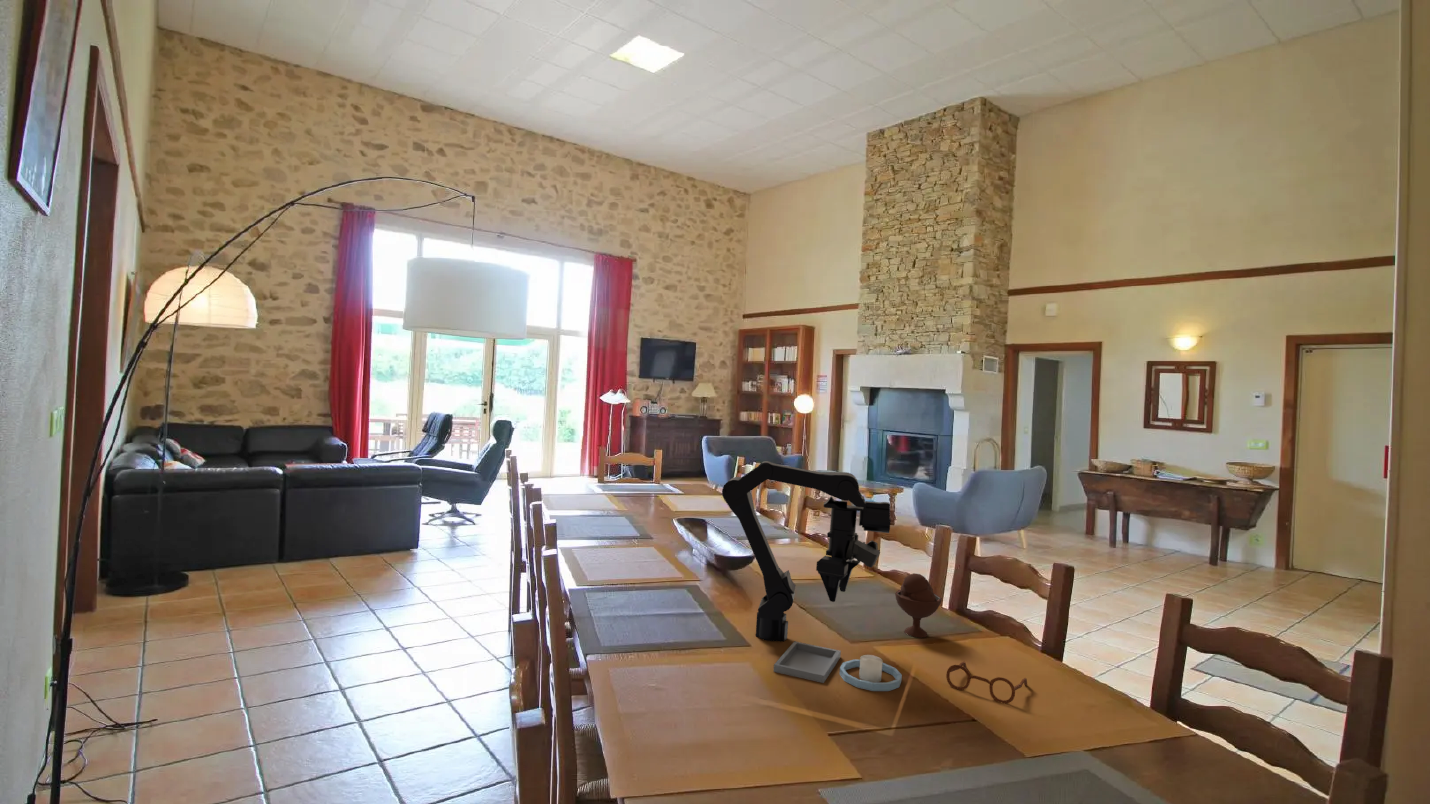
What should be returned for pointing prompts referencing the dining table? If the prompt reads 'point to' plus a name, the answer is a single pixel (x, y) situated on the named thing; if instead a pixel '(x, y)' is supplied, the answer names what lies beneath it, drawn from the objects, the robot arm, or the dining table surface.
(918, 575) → the ice cream bowl
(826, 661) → the parts tray
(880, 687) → the blue ring
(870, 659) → the white marshmallow
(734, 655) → the dining table surface
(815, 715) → the dining table surface
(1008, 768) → the dining table surface
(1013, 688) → the glasses
